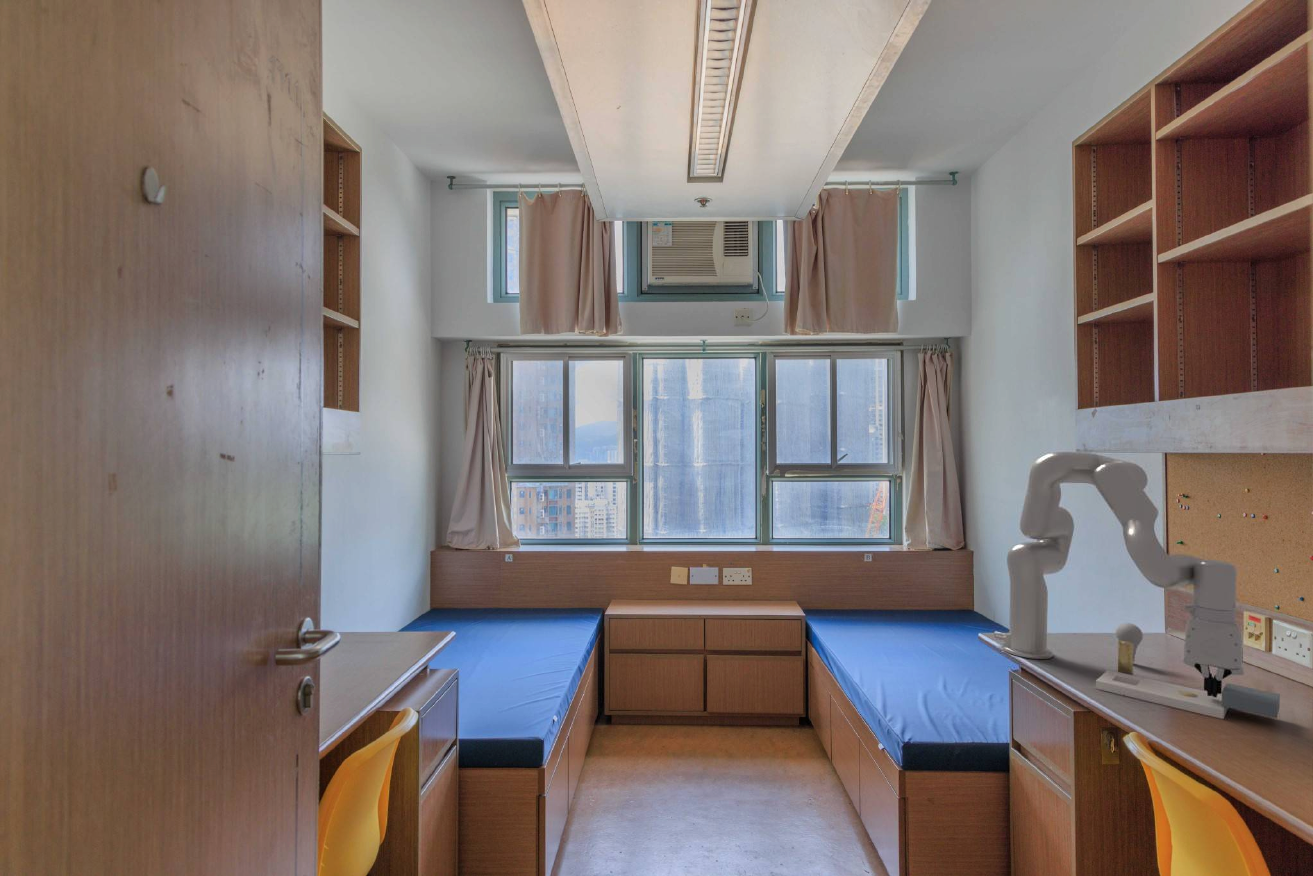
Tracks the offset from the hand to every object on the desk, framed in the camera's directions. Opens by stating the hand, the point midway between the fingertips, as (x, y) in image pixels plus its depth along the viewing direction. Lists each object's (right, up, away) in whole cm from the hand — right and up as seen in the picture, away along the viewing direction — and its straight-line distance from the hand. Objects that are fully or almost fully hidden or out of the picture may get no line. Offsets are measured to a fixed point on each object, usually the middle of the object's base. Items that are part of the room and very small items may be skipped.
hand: (1212, 695), depth 153 cm
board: (-7, -3, +7) cm, 10 cm away
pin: (-6, -3, +20) cm, 21 cm away
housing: (+5, -1, -5) cm, 7 cm away
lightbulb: (+3, -4, +32) cm, 32 cm away
